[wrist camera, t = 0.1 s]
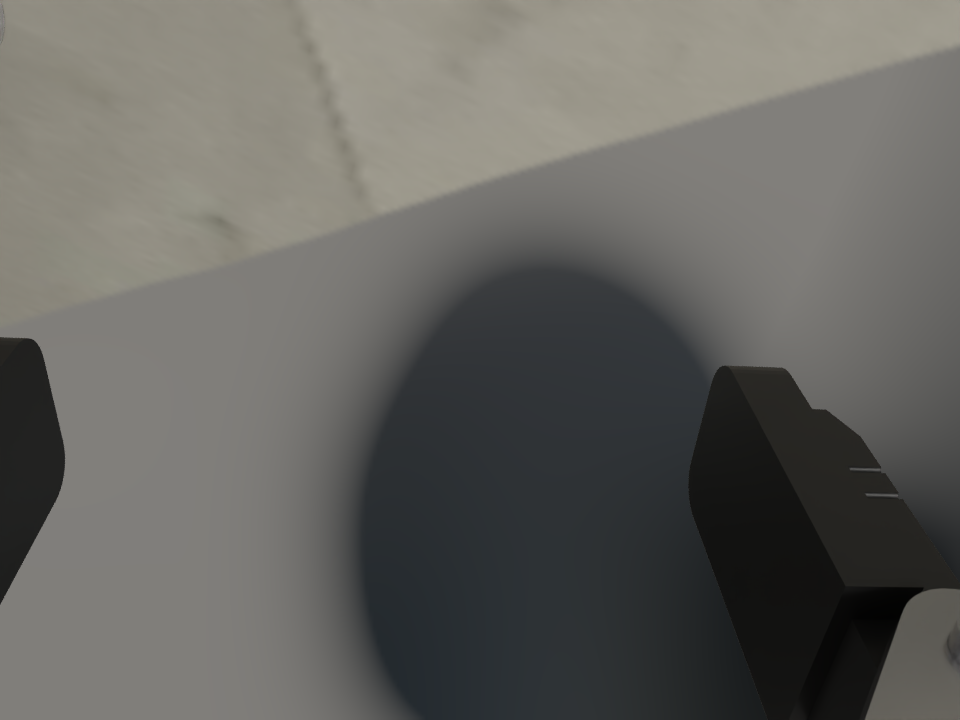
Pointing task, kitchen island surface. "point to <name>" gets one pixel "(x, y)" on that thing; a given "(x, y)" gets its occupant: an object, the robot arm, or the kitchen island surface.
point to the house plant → (1, 23)
